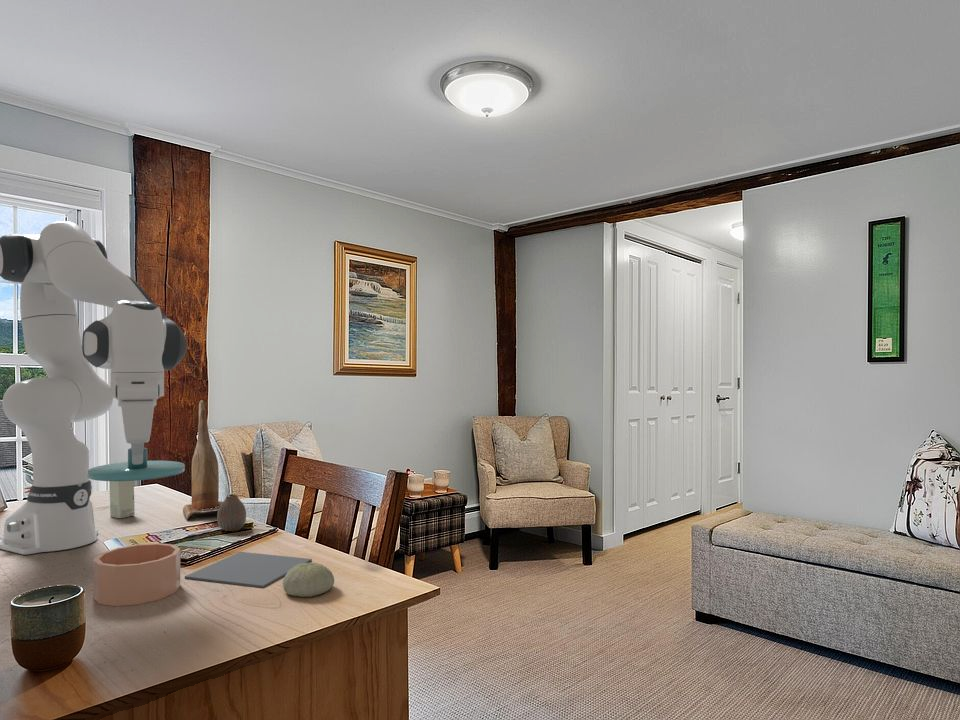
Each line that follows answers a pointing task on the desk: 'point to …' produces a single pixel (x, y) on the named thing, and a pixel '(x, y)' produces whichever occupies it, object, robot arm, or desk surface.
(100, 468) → the lid
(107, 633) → the desk surface
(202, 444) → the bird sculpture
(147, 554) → the bowl
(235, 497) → the vase
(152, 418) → the robot arm
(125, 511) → the box
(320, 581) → the sea urchin shell
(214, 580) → the mat
